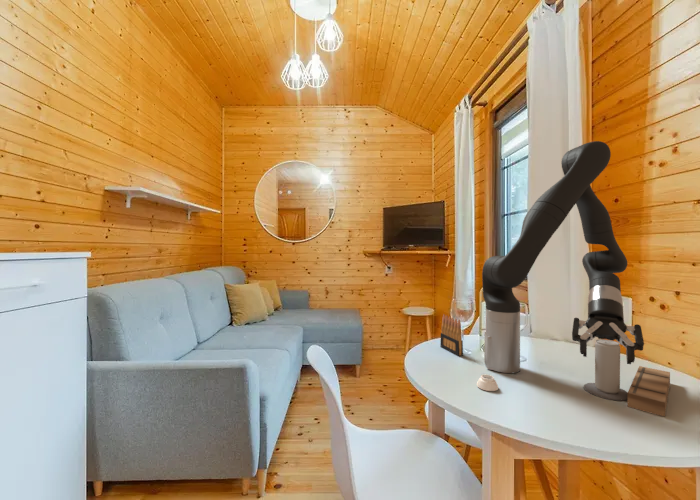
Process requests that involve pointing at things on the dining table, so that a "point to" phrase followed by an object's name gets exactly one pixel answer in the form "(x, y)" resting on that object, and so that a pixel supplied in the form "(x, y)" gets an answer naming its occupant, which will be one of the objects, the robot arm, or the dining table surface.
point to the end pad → (620, 396)
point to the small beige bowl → (487, 383)
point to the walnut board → (649, 390)
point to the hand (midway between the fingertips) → (606, 358)
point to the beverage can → (607, 366)
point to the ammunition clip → (451, 336)
